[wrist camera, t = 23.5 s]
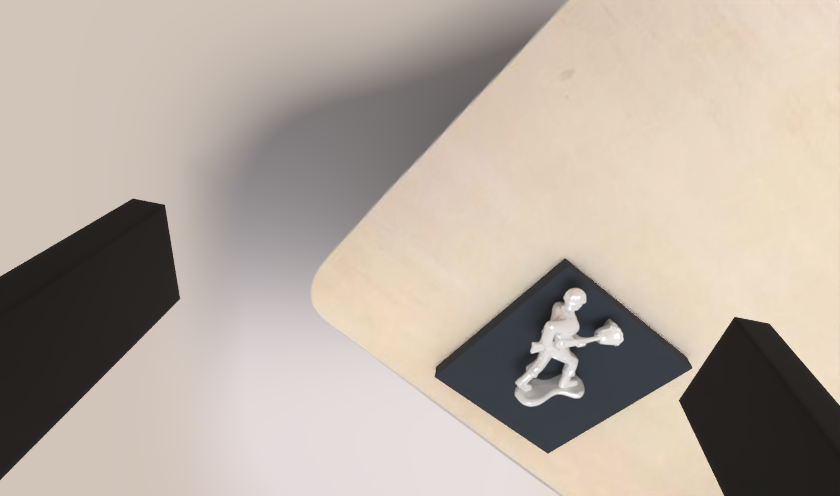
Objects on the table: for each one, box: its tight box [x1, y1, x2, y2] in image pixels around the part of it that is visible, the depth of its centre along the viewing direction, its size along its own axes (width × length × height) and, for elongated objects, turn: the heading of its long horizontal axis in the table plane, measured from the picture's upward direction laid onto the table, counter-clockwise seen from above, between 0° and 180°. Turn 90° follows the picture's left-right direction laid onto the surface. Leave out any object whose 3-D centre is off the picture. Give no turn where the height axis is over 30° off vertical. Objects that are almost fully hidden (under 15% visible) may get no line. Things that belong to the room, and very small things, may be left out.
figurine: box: [515, 288, 624, 407], centre depth 41 cm, size 5×9×12 cm
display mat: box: [435, 259, 692, 453], centre depth 46 cm, size 17×19×2 cm
